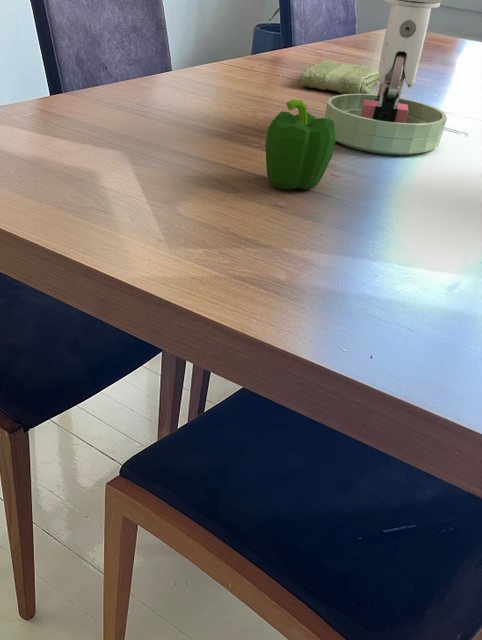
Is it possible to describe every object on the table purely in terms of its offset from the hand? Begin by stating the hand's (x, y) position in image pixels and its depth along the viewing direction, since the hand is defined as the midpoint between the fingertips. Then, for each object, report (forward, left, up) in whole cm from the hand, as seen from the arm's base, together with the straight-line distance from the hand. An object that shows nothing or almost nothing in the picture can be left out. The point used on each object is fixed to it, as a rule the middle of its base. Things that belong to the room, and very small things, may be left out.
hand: (379, 130), depth 112 cm
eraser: (0, 0, 0) cm, 0 cm away
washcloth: (+7, -34, -1) cm, 35 cm away
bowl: (0, +2, -1) cm, 2 cm away
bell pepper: (+11, +29, -1) cm, 31 cm away
